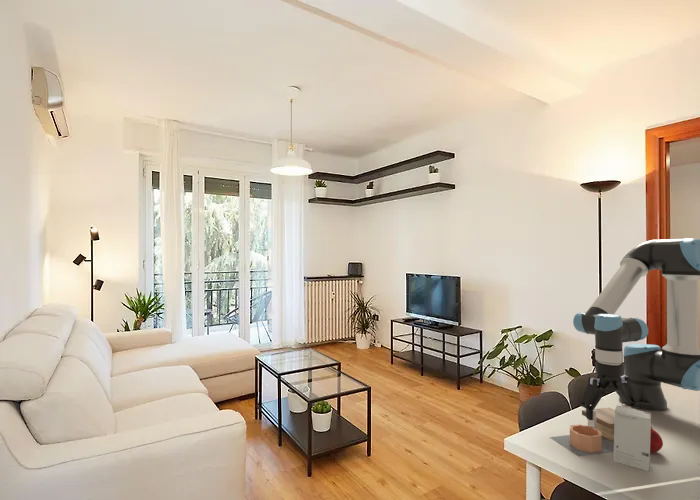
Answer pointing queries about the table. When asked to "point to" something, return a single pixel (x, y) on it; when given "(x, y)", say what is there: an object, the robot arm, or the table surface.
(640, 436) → the skincare box
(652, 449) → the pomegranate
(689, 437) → the table surface
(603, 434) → the light wooden block
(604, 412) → the board
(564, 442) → the placemat
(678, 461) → the table surface
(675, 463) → the table surface
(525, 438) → the table surface
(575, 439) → the bowl
